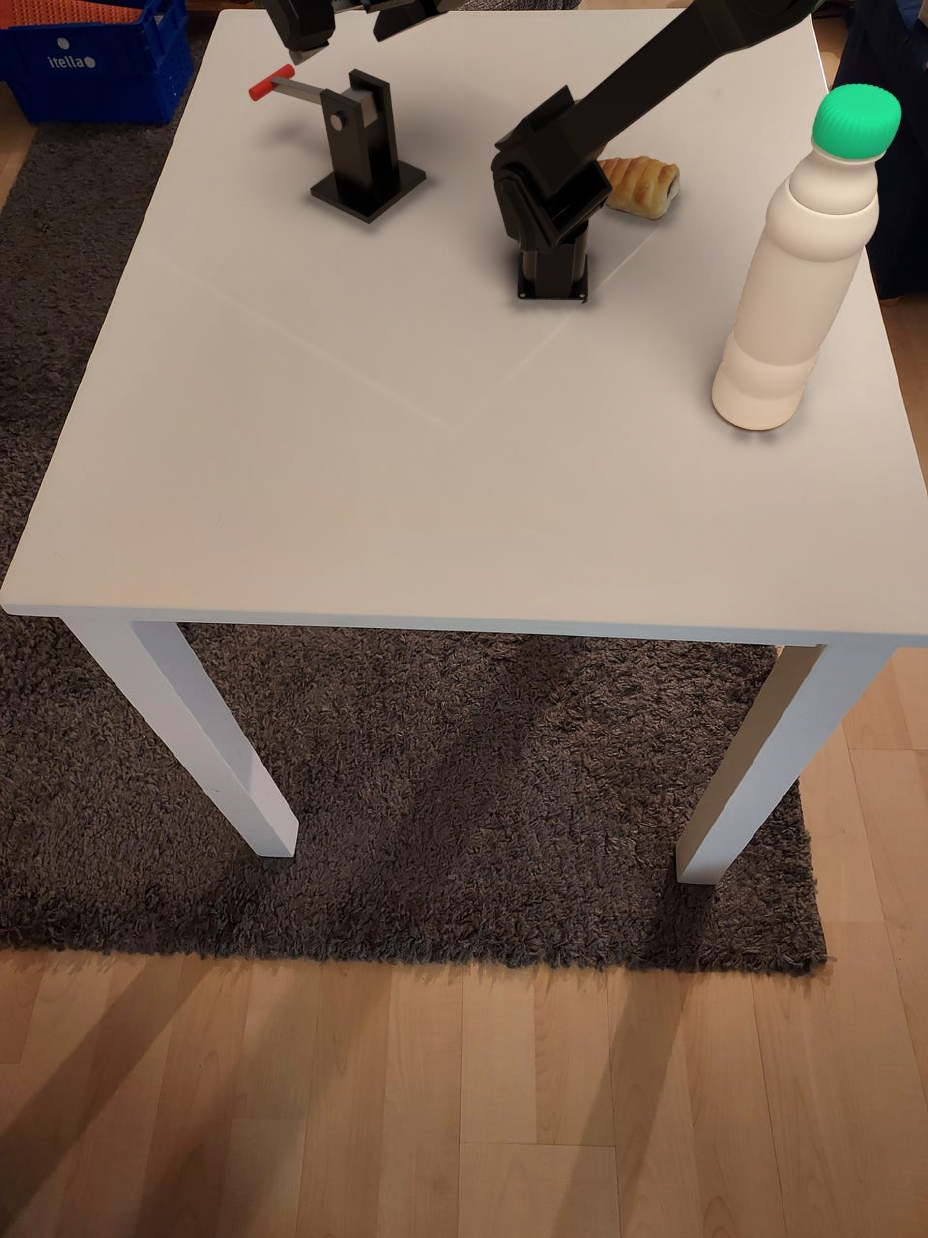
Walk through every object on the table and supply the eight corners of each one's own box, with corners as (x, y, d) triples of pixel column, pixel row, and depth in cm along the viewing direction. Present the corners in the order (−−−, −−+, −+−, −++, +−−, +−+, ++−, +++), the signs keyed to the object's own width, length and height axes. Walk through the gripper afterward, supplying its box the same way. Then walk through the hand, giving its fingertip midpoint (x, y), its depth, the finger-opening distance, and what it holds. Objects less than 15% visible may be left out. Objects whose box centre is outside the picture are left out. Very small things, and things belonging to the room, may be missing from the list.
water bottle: (799, 380, 72) (929, 74, 50) (790, 441, 69) (925, 143, 47) (716, 365, 73) (808, 60, 51) (703, 425, 70) (796, 126, 48)
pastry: (572, 205, 84) (575, 169, 81) (595, 167, 87) (599, 131, 84) (661, 227, 82) (668, 191, 79) (682, 188, 85) (690, 151, 82)
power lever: (252, 106, 85) (244, 80, 83) (290, 81, 87) (283, 55, 85) (351, 137, 79) (345, 111, 77) (389, 109, 81) (384, 82, 79)
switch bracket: (312, 198, 87) (290, 96, 78) (369, 155, 90) (355, 52, 81) (369, 228, 84) (353, 125, 75) (426, 182, 87) (418, 78, 78)
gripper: (448, -215, 65) (375, -61, 78) (237, -188, 57) (197, -23, 71) (513, -67, 67) (431, 57, 81) (319, -21, 59) (265, 107, 73)
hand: (336, 47), depth 76 cm, fingers open, 9 cm apart
